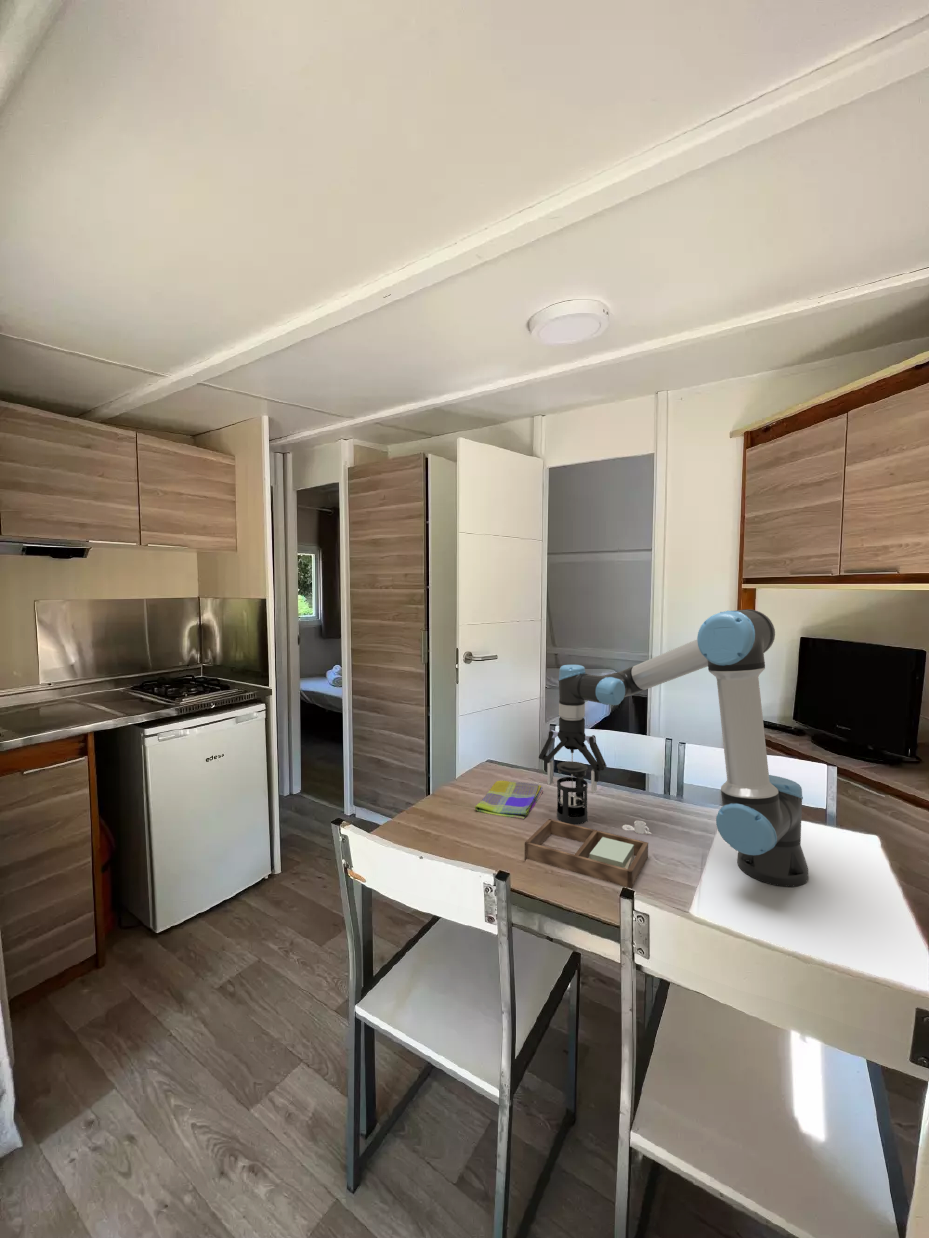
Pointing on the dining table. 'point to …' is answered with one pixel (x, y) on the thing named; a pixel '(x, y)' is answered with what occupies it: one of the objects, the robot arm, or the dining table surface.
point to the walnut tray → (585, 853)
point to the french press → (571, 802)
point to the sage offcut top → (612, 852)
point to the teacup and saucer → (637, 827)
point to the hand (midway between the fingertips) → (571, 787)
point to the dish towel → (510, 799)
